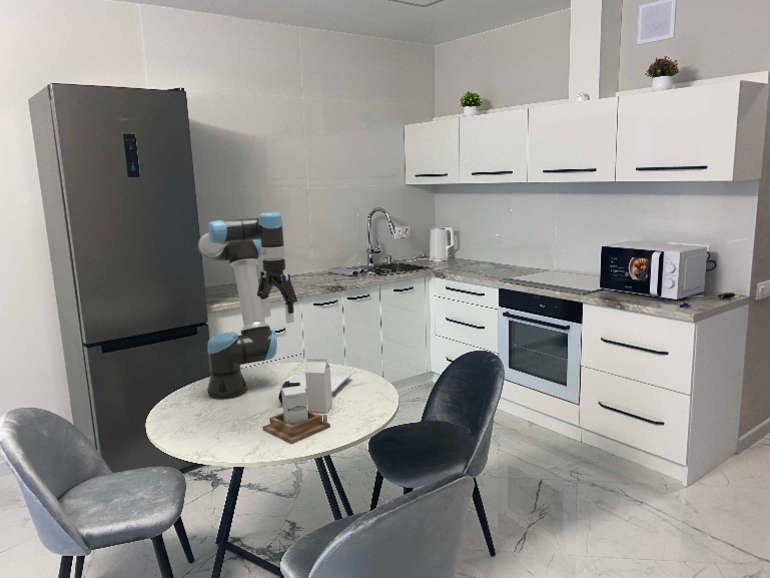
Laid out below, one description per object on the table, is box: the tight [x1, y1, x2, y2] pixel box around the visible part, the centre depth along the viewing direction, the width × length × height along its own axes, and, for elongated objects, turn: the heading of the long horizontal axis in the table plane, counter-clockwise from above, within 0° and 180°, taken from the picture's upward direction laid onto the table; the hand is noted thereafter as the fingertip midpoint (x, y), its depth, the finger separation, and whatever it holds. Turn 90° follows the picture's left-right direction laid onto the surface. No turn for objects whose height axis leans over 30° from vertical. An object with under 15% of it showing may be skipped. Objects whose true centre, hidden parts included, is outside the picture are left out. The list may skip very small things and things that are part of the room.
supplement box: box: [280, 385, 308, 426], centre depth 194 cm, size 7×7×13 cm
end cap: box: [278, 380, 300, 405], centre depth 218 cm, size 10×7×7 cm
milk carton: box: [304, 357, 333, 413], centre depth 210 cm, size 7×7×19 cm
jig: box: [262, 409, 331, 445], centre depth 195 cm, size 16×16×4 cm
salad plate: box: [290, 369, 352, 395], centre depth 233 cm, size 21×21×3 cm
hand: (278, 319), depth 201 cm, fingers open, 13 cm apart
